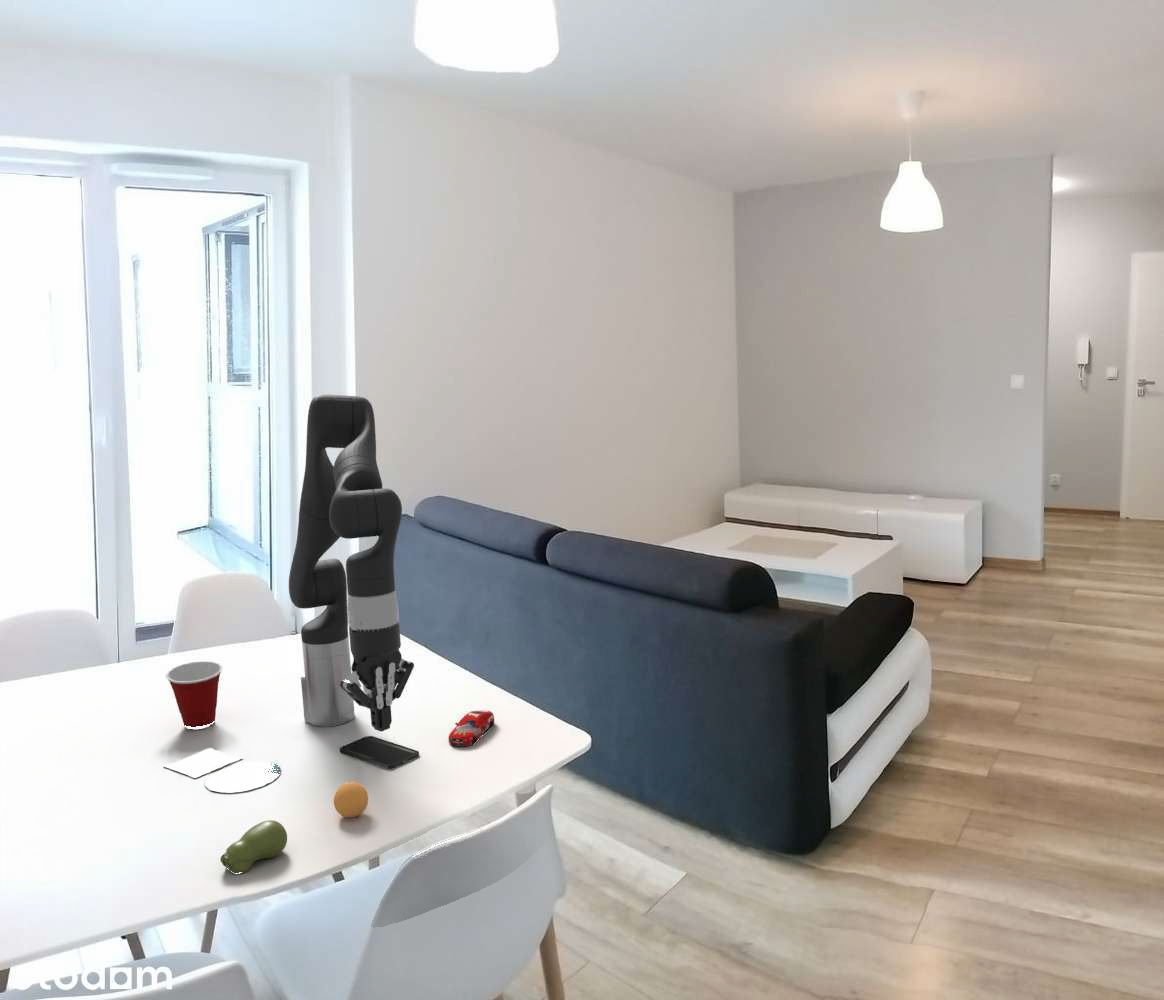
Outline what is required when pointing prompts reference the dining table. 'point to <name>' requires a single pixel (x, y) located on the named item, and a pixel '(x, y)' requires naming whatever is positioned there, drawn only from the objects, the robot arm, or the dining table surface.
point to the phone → (379, 752)
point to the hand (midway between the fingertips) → (381, 729)
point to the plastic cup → (196, 691)
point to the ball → (350, 799)
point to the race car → (471, 728)
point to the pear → (255, 846)
